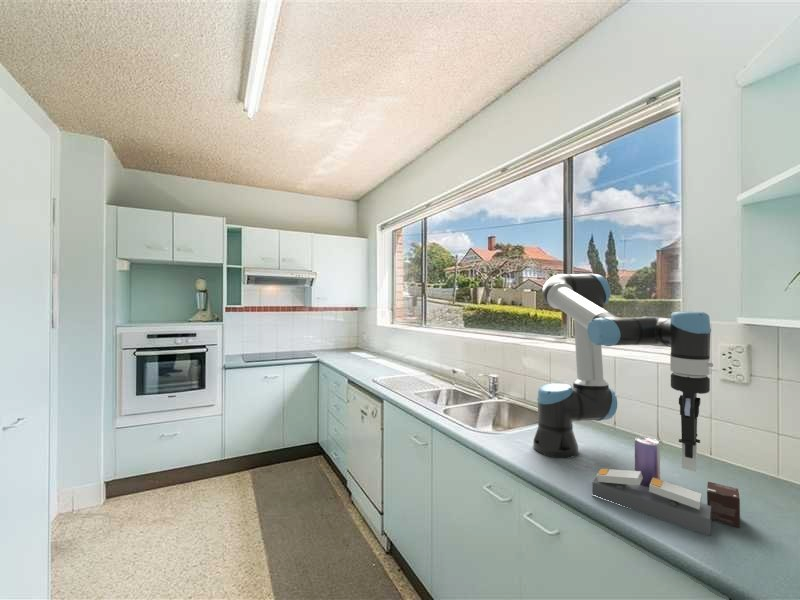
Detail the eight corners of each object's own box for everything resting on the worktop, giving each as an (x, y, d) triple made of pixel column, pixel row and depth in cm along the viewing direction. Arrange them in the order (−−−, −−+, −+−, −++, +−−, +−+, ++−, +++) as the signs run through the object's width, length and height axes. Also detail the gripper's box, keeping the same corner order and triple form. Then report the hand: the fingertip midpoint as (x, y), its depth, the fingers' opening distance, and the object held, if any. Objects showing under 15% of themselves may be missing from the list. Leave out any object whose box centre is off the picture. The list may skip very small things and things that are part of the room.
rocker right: (649, 491, 92) (649, 483, 92) (652, 483, 96) (652, 476, 96) (699, 509, 85) (700, 501, 85) (700, 500, 89) (701, 492, 89)
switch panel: (592, 496, 101) (592, 479, 101) (599, 486, 106) (599, 470, 106) (709, 536, 83) (709, 515, 83) (711, 522, 89) (711, 502, 89)
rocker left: (598, 481, 100) (596, 474, 101) (603, 475, 104) (601, 467, 104) (639, 485, 94) (637, 477, 94) (642, 478, 97) (640, 470, 98)
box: (739, 517, 90) (739, 488, 90) (740, 529, 86) (740, 499, 86) (707, 508, 94) (707, 480, 94) (707, 519, 90) (706, 490, 90)
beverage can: (649, 499, 98) (648, 445, 98) (629, 488, 104) (629, 437, 104) (665, 496, 100) (665, 442, 100) (645, 485, 106) (645, 435, 106)
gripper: (708, 381, 81) (707, 484, 81) (711, 371, 90) (710, 464, 91) (667, 376, 86) (666, 473, 87) (674, 367, 95) (673, 455, 96)
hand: (689, 468), depth 89 cm, fingers closed
